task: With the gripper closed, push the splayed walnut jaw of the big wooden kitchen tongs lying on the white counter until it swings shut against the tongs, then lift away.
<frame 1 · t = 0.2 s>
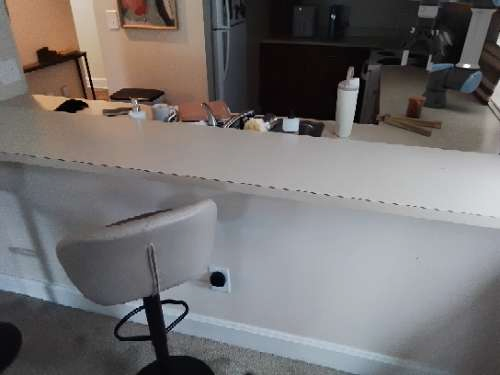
hand: (415, 67, 175), 27 cm above the countertop, fingers open, 13 cm apart
tongs jaw: (415, 121, 188), point 2 cm above the countertop, hinge at 32.0°
mug: (413, 118, 200), on the countertop
wooden kitchen tongs: (386, 121, 193), on the countertop
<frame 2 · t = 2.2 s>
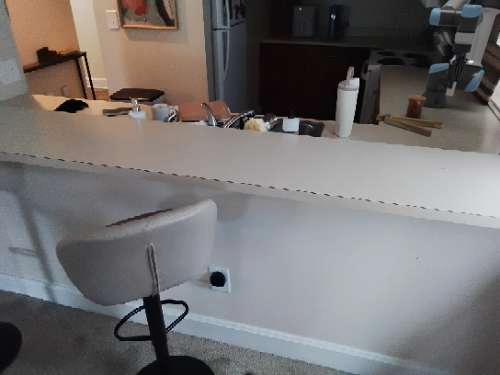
hand: (449, 95, 182), 15 cm above the countertop, fingers closed
nothing on the countertop moved.
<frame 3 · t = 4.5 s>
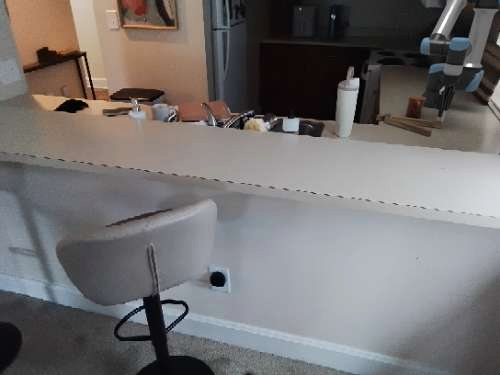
hand: (439, 123, 187), 2 cm above the countertop, fingers closed
tongs jaw: (415, 121, 188), point 2 cm above the countertop, hinge at 31.8°, touching gripper
everything else where it was.
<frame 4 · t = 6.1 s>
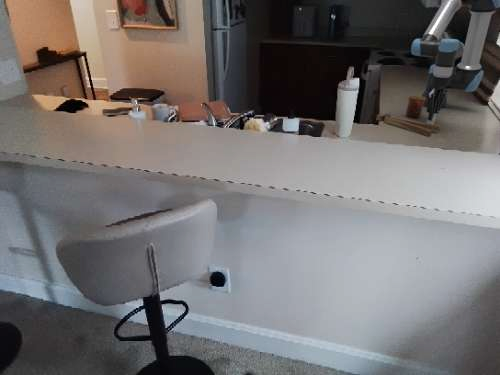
hand: (429, 126, 182), 1 cm above the countertop, fingers closed
tongs jaw: (414, 123, 185), point 2 cm above the countertop, hinge at 12.3°, touching gripper
everything else where it was.
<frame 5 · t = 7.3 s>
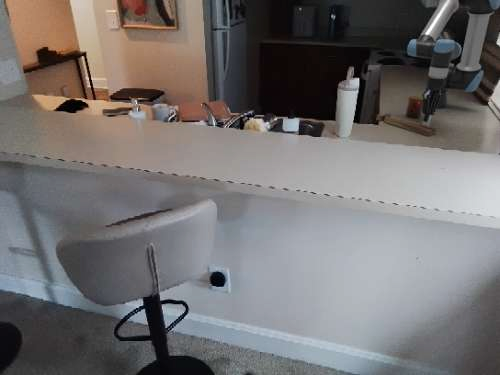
hand: (425, 127, 180), 1 cm above the countertop, fingers closed
tongs jaw: (411, 124, 183), point 2 cm above the countertop, hinge at 2.9°, touching gripper
everything else where it was.
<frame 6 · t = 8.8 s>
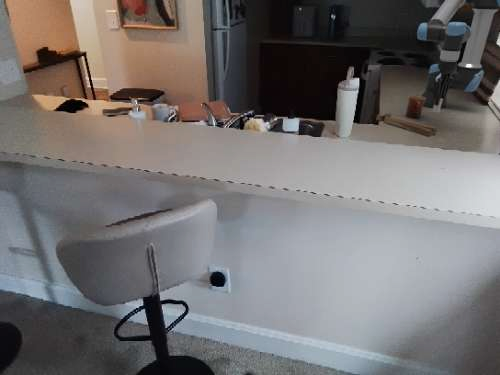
hand: (435, 111, 181), 8 cm above the countertop, fingers closed
tongs jaw: (411, 124, 183), point 2 cm above the countertop, hinge at 2.9°
everything else where it was.
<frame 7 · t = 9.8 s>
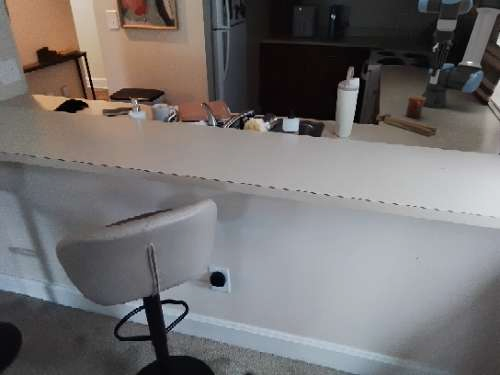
hand: (432, 83, 181), 20 cm above the countertop, fingers closed
nothing on the countertop moved.
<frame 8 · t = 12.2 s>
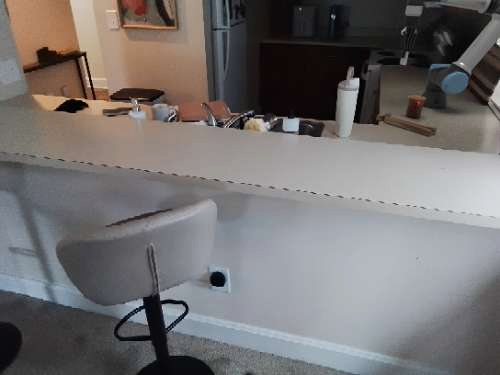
hand: (402, 64, 200), 24 cm above the countertop, fingers closed
nothing on the countertop moved.
at the end: tongs jaw at +3° (first picture: +32°); tongs jaw touching nothing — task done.
